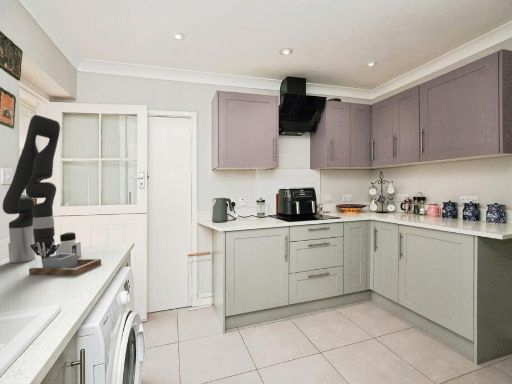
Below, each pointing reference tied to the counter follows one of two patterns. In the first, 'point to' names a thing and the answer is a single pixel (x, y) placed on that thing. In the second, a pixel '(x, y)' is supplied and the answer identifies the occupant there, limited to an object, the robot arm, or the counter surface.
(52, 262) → the box
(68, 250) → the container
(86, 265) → the bay
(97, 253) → the counter surface
